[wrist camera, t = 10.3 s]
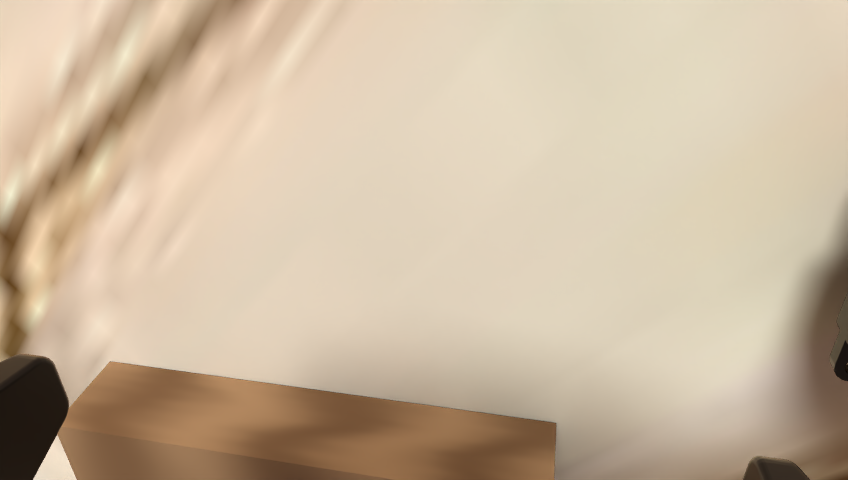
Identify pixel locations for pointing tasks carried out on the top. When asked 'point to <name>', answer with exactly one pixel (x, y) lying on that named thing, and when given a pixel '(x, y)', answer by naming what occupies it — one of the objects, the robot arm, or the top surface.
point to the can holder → (285, 434)
